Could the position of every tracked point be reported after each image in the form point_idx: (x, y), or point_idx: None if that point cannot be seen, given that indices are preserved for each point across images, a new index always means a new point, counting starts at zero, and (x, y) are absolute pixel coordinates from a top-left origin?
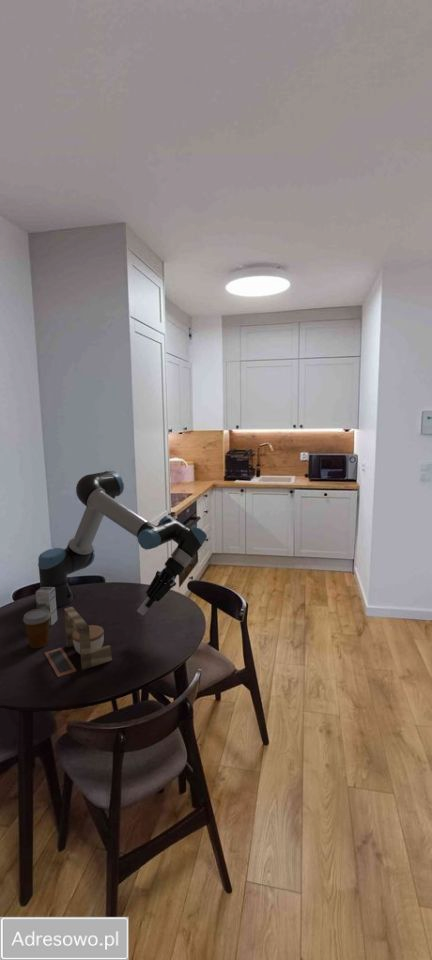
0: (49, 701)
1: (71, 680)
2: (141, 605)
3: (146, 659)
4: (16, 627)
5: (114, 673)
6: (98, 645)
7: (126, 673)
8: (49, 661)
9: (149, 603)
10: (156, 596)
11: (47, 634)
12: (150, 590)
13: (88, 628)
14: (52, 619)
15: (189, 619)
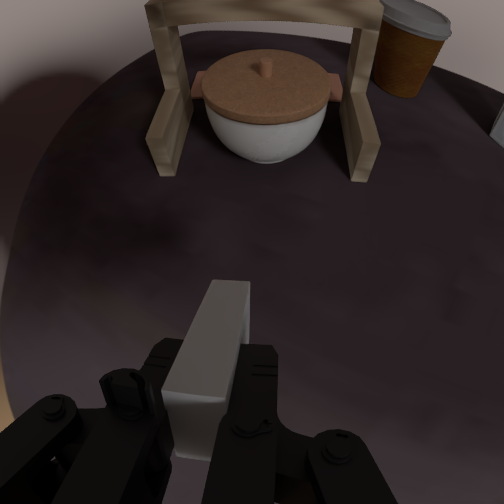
0: (133, 63)
1: (161, 88)
2: (228, 312)
3: (70, 271)
4: (491, 95)
5: (95, 164)
6: (210, 122)
7: (67, 189)
8: None
9: (143, 372)
10: (18, 421)
11: (391, 67)
12: (264, 495)
13: (147, 11)
14: (501, 129)
15: None
